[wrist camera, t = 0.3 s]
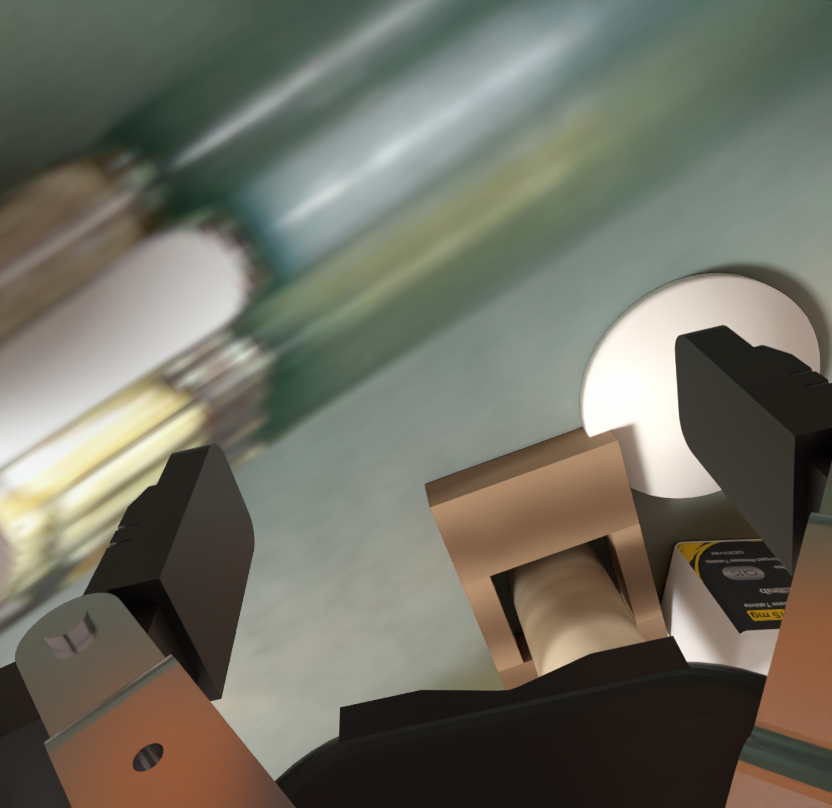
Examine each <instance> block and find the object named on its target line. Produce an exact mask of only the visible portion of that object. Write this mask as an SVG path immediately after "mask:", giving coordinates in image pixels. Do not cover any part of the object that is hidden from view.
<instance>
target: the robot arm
mask: <svg viewBox="0 0 832 808" xmlns="http://www.w3.org/2000/svg"><path fill="white" fill-rule="evenodd" d="M675 363H676V379H677V395H678V410H679V421H680V426H681V430H682V433H683V436H684V439H685V442H686V444H687V446H688V448H689V449H690V451H691V452H692V454H693V455H694V456H695V457H696V458H697V460H698V461H699V462H700V463H701V465H702V466H703V467H704V468H705V470H706V471H707V472H708V473H709V475H710V476H711V477H712V478H713V480H714V481H715V482H716V483H717V485H718V486H719V487H720V488H721V490H722V491H723V492H724V493H725V494H726V496H727V497H728V498H729V499H730V501H731V502H732V503H733V504H734V506H735V507H736V508H737V509H738V511H739V512H740V513H741V514H742V516H743V517H744V518H745V519H746V521H747V522H748V523H749V524H750V525H751V527H752V528H753V529H754V530H755V532H756V533H757V534H758V535H759V537H760V538H761V539H762V540H763V542H764V543H765V544H766V545H767V547H768V548H769V549H770V550H771V552H772V553H773V554H774V555H775V557H776V558H777V559H778V560H779V561H780V563H781V564H782V565H783V566H784V568H785V569H786V570H787V571H788V573H789V574H790V575H791V576H793V580H792V584H791V588H790V592H789V595H788V599H787V603H786V607H785V611H784V615H783V618H782V622H781V626H780V630H779V634H778V638H777V641H776V645H775V649H774V653H773V657H772V660H771V664H770V668H769V672H768V676H766V675H763V674H760V673H756V672H753V671H750V670H746V669H743V668H738V667H733V666H728V665H723V664H715V663H706V662H687V661H686V659H685V657H684V655H683V653H682V652H681V650H680V648H679V646H678V644H677V642H676V640H675V638H674V636H669V637H665V638H660V639H655V640H651V641H646V642H641V643H637V644H632V645H628V646H623V647H618V648H614V649H609V650H604V651H600V652H595V653H590V654H588V655H586V656H584V657H582V658H579V659H577V660H575V661H573V662H571V663H569V664H566V665H564V666H562V667H560V668H558V669H555V670H553V671H551V672H549V673H547V674H545V675H542V676H540V677H538V678H536V679H534V680H532V681H529V682H527V683H525V684H523V685H521V686H518V687H516V688H513V689H509V690H502V691H472V690H419V691H414V692H410V693H405V694H401V695H396V696H391V697H387V698H382V699H377V700H373V701H368V702H364V703H359V704H354V705H350V706H345V707H340V728H339V736H338V737H336V738H334V739H332V740H330V741H328V742H326V743H325V744H323V745H321V746H320V747H318V748H316V749H315V750H313V751H311V752H310V753H308V754H307V755H306V756H304V757H303V758H302V759H300V760H299V761H297V762H296V763H295V764H293V765H292V766H291V767H290V768H289V769H288V770H287V771H286V772H284V773H283V774H282V775H281V776H280V777H279V778H278V779H277V780H276V781H274V780H273V779H272V778H271V776H270V775H269V774H268V773H267V771H266V770H265V769H264V768H263V766H262V765H261V764H260V763H259V761H258V760H257V759H256V758H255V757H254V755H253V754H252V753H251V752H250V750H249V749H248V748H247V747H246V745H245V744H244V743H243V742H242V740H241V739H240V738H239V737H238V735H237V734H236V733H235V732H234V731H233V729H232V728H231V727H230V726H229V724H228V723H227V722H226V721H225V719H224V718H223V717H222V716H221V714H220V713H219V712H218V711H217V709H216V708H215V707H214V706H213V704H212V703H211V702H210V701H213V700H218V699H221V698H222V693H223V689H224V684H225V680H226V675H227V670H228V666H229V661H230V657H231V652H232V648H233V643H234V638H235V634H236V629H237V625H238V620H239V616H240V611H241V606H242V602H243V597H244V593H245V588H246V584H247V579H248V574H249V570H250V565H251V561H252V556H253V552H254V531H253V525H252V521H251V518H250V515H249V512H248V510H247V507H246V505H245V503H244V500H243V498H242V495H241V493H240V491H239V488H238V486H237V483H236V481H235V478H234V476H233V474H232V471H231V469H230V466H229V464H228V462H227V459H226V457H225V455H224V453H223V451H222V449H221V448H220V446H219V445H217V444H215V443H213V444H209V445H204V446H200V447H196V448H192V449H187V450H183V451H179V452H175V453H172V454H171V456H170V458H169V460H168V462H167V464H166V466H165V468H164V470H163V473H162V475H161V477H160V479H159V481H158V483H157V485H154V486H150V487H148V488H147V489H146V490H145V491H144V492H143V493H142V494H141V495H140V496H139V497H138V498H137V499H136V500H135V501H134V502H133V503H132V504H131V505H130V506H129V507H128V508H127V510H126V512H125V514H124V516H123V518H122V520H121V522H120V524H119V526H118V529H119V530H118V531H116V532H115V534H114V536H113V538H112V540H111V542H110V547H109V548H107V549H106V551H105V553H104V555H103V557H102V559H101V561H100V563H99V565H98V567H97V569H96V571H95V573H94V575H93V577H92V579H91V581H90V583H89V585H88V587H87V588H86V590H85V592H84V594H83V596H81V597H78V598H75V599H73V600H70V601H68V602H66V603H64V604H62V605H60V606H58V607H57V608H55V609H54V610H52V611H50V612H49V613H47V614H46V615H45V616H44V617H42V618H41V619H40V620H39V621H38V622H36V623H35V624H34V625H33V626H32V627H31V628H30V629H29V631H28V632H27V633H26V634H25V635H24V637H23V638H22V640H21V641H20V643H19V645H18V647H17V650H16V653H15V662H13V663H11V664H9V665H7V666H4V667H2V668H0V808H832V383H830V384H829V382H828V380H827V379H826V378H825V377H823V376H822V375H820V374H819V373H818V372H816V371H814V372H813V371H812V368H811V367H809V366H808V365H807V364H805V363H804V362H802V361H801V360H800V359H798V358H797V357H795V356H794V355H793V354H790V353H787V352H784V351H781V350H777V349H774V348H771V347H768V346H765V345H760V346H756V347H753V346H752V345H751V344H749V343H748V342H747V341H745V340H744V339H743V338H742V337H740V336H739V335H738V334H736V333H735V332H734V331H733V330H731V329H730V328H729V327H727V326H726V325H720V326H716V327H712V328H707V329H703V330H699V331H695V332H690V333H686V334H682V335H679V336H678V337H677V338H676V341H675Z"/></svg>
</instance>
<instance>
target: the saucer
mask: <svg viewBox="0 0 832 808" xmlns="http://www.w3.org/2000/svg"><path fill="white" fill-rule="evenodd" d="M720 325H726V326H727V327H729V328H730V329H731V330H733V331H734V332H735V333H736V334H738V335H739V336H740V337H742V338H743V339H744V340H745V341H747V342H748V343H749V344H751V345H752V346H753V347H756V346H760V345H765V346H768V347H771V348H774V349H777V350H781V351H784V352H787V353H790V354H793V355H794V356H795V357H797V358H798V359H800V360H801V361H802V362H804V363H805V364H807V365H808V366H809V367H811V368H812V371H813V372H814V371H816V372H818V373H819V374H820V353H819V347H818V341H817V338H816V335H815V332H814V330H813V327H812V325H811V324H810V322H809V320H808V318H807V316H806V315H805V314H804V313H803V311H802V310H801V309H800V307H799V306H798V305H797V304H796V303H794V302H793V301H792V300H791V299H790V298H789V297H788V296H786V295H784V294H783V293H781V292H780V291H778V290H776V289H774V288H772V287H770V286H768V285H766V284H764V283H762V282H760V281H757V280H755V279H753V278H750V277H746V276H742V275H738V274H730V273H704V274H698V275H693V276H688V277H685V278H681V279H678V280H675V281H672V282H670V283H667V284H665V285H663V286H661V287H658V288H657V289H655V290H653V291H651V292H650V293H648V294H646V295H644V296H643V297H641V298H640V299H639V300H637V301H636V302H635V303H633V304H632V305H631V306H629V307H628V308H627V309H626V310H625V311H624V312H623V313H622V314H621V315H620V316H619V317H618V318H617V319H616V320H615V321H614V322H613V323H612V324H611V326H610V327H609V328H608V329H607V330H606V332H605V333H604V335H603V336H602V337H601V339H600V340H599V342H598V343H597V345H596V347H595V349H594V351H593V353H592V355H591V357H590V359H589V361H588V364H587V367H586V369H585V372H584V376H583V380H582V385H581V391H580V416H581V421H582V426H583V429H584V430H585V431H586V433H587V434H588V436H589V437H592V436H595V435H598V434H600V433H603V432H606V431H609V430H611V432H612V433H613V434H614V435H615V437H616V438H617V439H618V442H619V446H620V450H621V454H622V458H623V461H624V465H625V469H626V473H627V477H628V481H629V485H630V487H631V488H633V489H635V490H637V491H639V492H642V493H645V494H649V495H652V496H658V497H664V498H690V497H697V496H703V495H708V494H711V493H714V492H718V491H721V488H720V487H719V486H718V485H717V483H716V482H715V481H714V480H713V478H712V477H711V476H710V475H709V473H708V472H707V471H706V470H705V468H704V467H703V466H702V465H701V463H700V462H699V461H698V460H697V458H696V457H695V456H694V455H693V454H692V452H691V451H690V449H689V448H688V446H687V444H686V442H685V439H684V436H683V433H682V430H681V426H680V421H679V410H678V395H677V379H676V363H675V341H676V338H677V337H678V336H679V335H682V334H686V333H690V332H695V331H699V330H703V329H707V328H712V327H716V326H720Z"/></svg>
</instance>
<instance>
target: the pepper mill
mask: <svg viewBox="0 0 832 808" xmlns="http://www.w3.org/2000/svg"><path fill="white" fill-rule="evenodd" d="M508 587H509V591H510V594H511V597H512V600H513V603H514V606H515V609H516V611H517V614H518V617H519V620H520V623H521V626H522V629H523V632H524V635H525V638H526V641H527V644H528V647H529V650H530V653H531V656H532V659H533V661H534V664H535V667H536V670H537V673H538V676H539V677H540V676H542V675H545V674H547V673H549V672H551V671H553V670H555V669H558V668H560V667H562V666H564V665H566V664H569V663H571V662H573V661H575V660H577V659H579V658H582V657H584V656H586V655H588V654H590V653H595V652H600V651H604V650H609V649H614V648H618V647H623V646H628V645H632V644H637V643H641V642H645V640H644V639H643V637H642V635H641V633H640V631H639V629H638V628H637V626H636V624H635V622H634V620H633V618H632V617H631V615H630V613H629V611H628V609H627V608H626V606H625V604H624V602H623V600H622V598H621V597H620V595H619V593H618V591H617V589H616V587H615V586H614V584H613V582H612V580H611V578H610V576H609V575H608V573H607V571H606V569H605V567H604V565H603V564H602V562H601V560H600V558H599V556H598V555H597V553H596V551H595V550H594V549H593V548H592V547H591V546H590V545H589V544H588V543H583V544H580V545H577V546H574V547H571V548H568V549H566V550H563V551H560V552H557V553H554V554H551V555H549V556H546V557H543V558H540V559H537V560H534V561H531V562H529V563H526V564H523V565H520V566H517V567H514V568H512V569H510V570H509V573H508Z"/></svg>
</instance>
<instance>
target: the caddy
mask: <svg viewBox="0 0 832 808" xmlns="http://www.w3.org/2000/svg"><path fill="white" fill-rule="evenodd" d="M425 488H426V493H427V497H428V502H429V506H430V509H431V512H432V514H433V516H434V519H435V521H436V524H437V526H438V528H439V531H440V533H441V536H442V538H443V540H444V543H445V545H446V548H447V550H448V552H449V555H450V557H451V560H452V562H453V564H454V567H455V569H456V572H457V574H458V576H459V579H460V581H461V584H462V586H463V588H464V591H465V593H466V596H467V598H468V600H469V603H470V605H471V608H472V610H473V612H474V615H475V617H476V620H477V622H478V624H479V627H480V629H481V632H482V634H483V636H484V639H485V641H486V644H487V646H488V648H489V651H490V653H491V656H492V658H493V660H494V663H495V665H496V668H497V670H498V672H499V675H500V677H501V680H502V682H503V684H504V687H505V689H506V690H509V689H513V688H516V687H518V686H521V685H523V684H525V683H527V682H529V681H532V680H534V679H536V678H538V677H539V676H538V673H537V670H536V667H535V664H534V661H533V659H532V656H531V653H530V650H529V647H528V644H527V641H526V638H525V635H524V633H521V634H518V635H514V633H513V630H512V627H511V625H510V622H509V620H508V617H507V615H506V612H505V609H504V607H503V604H502V602H501V599H500V597H499V594H498V591H497V589H496V586H495V584H494V581H493V579H492V575H494V574H497V573H500V572H503V571H506V570H509V569H512V568H514V567H517V566H520V565H523V564H526V563H529V562H531V561H534V560H537V559H540V558H543V557H546V556H549V555H551V554H554V553H557V552H560V551H563V550H566V549H568V548H571V547H574V546H577V545H580V544H583V543H586V542H588V541H591V540H594V539H597V538H600V537H603V536H605V538H606V542H607V545H608V549H609V552H610V556H611V559H612V563H613V566H614V570H615V574H616V577H617V581H618V584H619V588H620V591H621V595H622V600H623V602H624V604H625V606H626V608H627V609H628V611H629V613H630V615H631V617H632V618H633V620H634V622H635V624H636V626H637V628H638V629H639V631H640V633H641V635H642V637H643V639H644V640H645V642H646V641H651V640H655V639H660V638H665V637H668V635H667V631H666V627H665V623H664V619H663V615H662V611H661V607H660V603H659V599H658V595H657V591H656V587H655V583H654V579H653V576H652V572H651V568H650V564H649V560H648V556H647V552H646V548H645V544H644V540H643V536H642V532H641V528H640V524H639V520H638V517H637V513H636V509H635V505H634V501H633V497H632V493H631V489H630V485H629V481H628V477H627V473H626V469H625V465H624V461H623V458H622V454H621V450H620V446H619V442H618V439H617V438H616V437H615V435H614V434H613V433H612V432H611V430H609V431H606V432H603V433H600V434H598V435H595V436H592V437H589V436H588V434H587V433H586V431H585V430H584V429H583V428H580V429H577V430H575V431H572V432H569V433H566V434H563V435H561V436H558V437H555V438H552V439H550V440H547V441H544V442H541V443H538V444H536V445H533V446H530V447H527V448H525V449H522V450H519V451H516V452H513V453H511V454H508V455H505V456H502V457H500V458H497V459H494V460H491V461H488V462H486V463H483V464H480V465H477V466H475V467H472V468H469V469H466V470H463V471H461V472H458V473H455V474H452V475H450V476H447V477H444V478H441V479H438V480H436V481H433V482H430V483H427V484H425Z"/></svg>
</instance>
